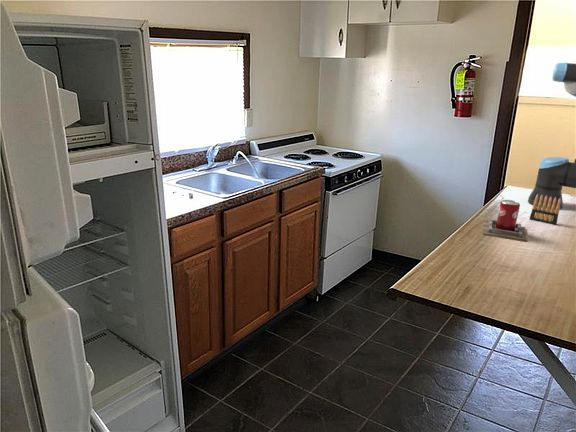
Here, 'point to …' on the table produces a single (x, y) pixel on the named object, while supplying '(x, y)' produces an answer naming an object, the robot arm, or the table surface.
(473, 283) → the table surface
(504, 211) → the soda can
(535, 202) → the ammunition clip
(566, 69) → the robot arm
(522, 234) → the keeper board
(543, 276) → the table surface
